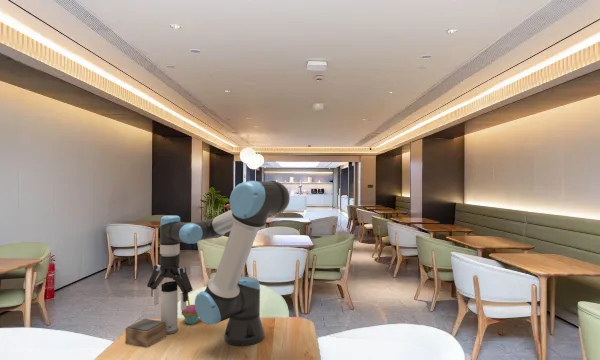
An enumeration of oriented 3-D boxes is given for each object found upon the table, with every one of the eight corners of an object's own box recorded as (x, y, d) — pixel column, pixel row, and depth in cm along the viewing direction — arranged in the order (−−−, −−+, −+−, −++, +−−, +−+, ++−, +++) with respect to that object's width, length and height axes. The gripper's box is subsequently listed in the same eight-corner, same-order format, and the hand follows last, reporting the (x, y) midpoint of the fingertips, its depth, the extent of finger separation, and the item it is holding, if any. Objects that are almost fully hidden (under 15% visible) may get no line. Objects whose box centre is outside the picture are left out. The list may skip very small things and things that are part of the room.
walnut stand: (165, 336, 150) (165, 321, 150) (147, 347, 141) (147, 330, 141) (144, 333, 154) (144, 318, 154) (125, 343, 144) (125, 327, 144)
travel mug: (173, 335, 152) (173, 284, 152) (157, 333, 153) (158, 283, 153) (181, 329, 158) (181, 280, 158) (166, 327, 159) (166, 279, 159)
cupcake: (180, 326, 161) (180, 297, 161) (182, 318, 170) (182, 291, 170) (201, 324, 163) (201, 296, 163) (202, 317, 171) (202, 290, 171)
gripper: (201, 255, 155) (201, 308, 155) (151, 250, 163) (150, 300, 164) (190, 258, 148) (189, 314, 148) (138, 253, 156) (137, 305, 156)
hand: (169, 307), depth 156 cm, fingers open, 13 cm apart
